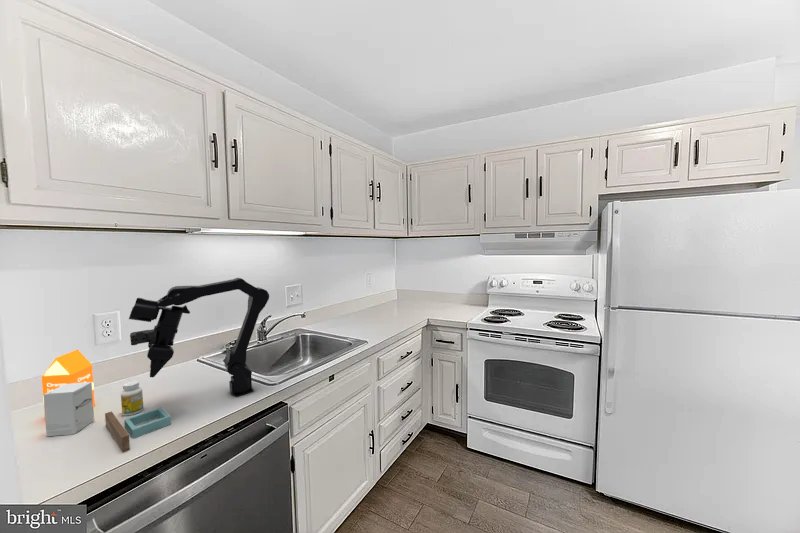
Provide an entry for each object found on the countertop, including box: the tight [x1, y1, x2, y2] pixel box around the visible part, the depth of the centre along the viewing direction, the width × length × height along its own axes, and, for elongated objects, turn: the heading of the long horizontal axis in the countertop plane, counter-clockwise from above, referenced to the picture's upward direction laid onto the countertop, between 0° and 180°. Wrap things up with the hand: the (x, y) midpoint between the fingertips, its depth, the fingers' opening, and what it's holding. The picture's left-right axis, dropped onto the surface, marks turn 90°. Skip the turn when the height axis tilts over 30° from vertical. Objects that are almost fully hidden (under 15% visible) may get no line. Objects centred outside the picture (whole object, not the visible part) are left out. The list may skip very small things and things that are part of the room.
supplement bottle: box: [120, 380, 144, 417], centre depth 103 cm, size 5×5×10 cm
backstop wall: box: [104, 411, 131, 453], centre depth 90 cm, size 2×20×4 cm, turn 52°
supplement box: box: [43, 382, 95, 437], centre depth 94 cm, size 7×7×13 cm
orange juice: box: [41, 349, 96, 413], centre depth 102 cm, size 8×9×20 cm
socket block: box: [123, 406, 172, 439], centre depth 95 cm, size 9×9×2 cm
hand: (151, 372), depth 101 cm, fingers open, 9 cm apart
